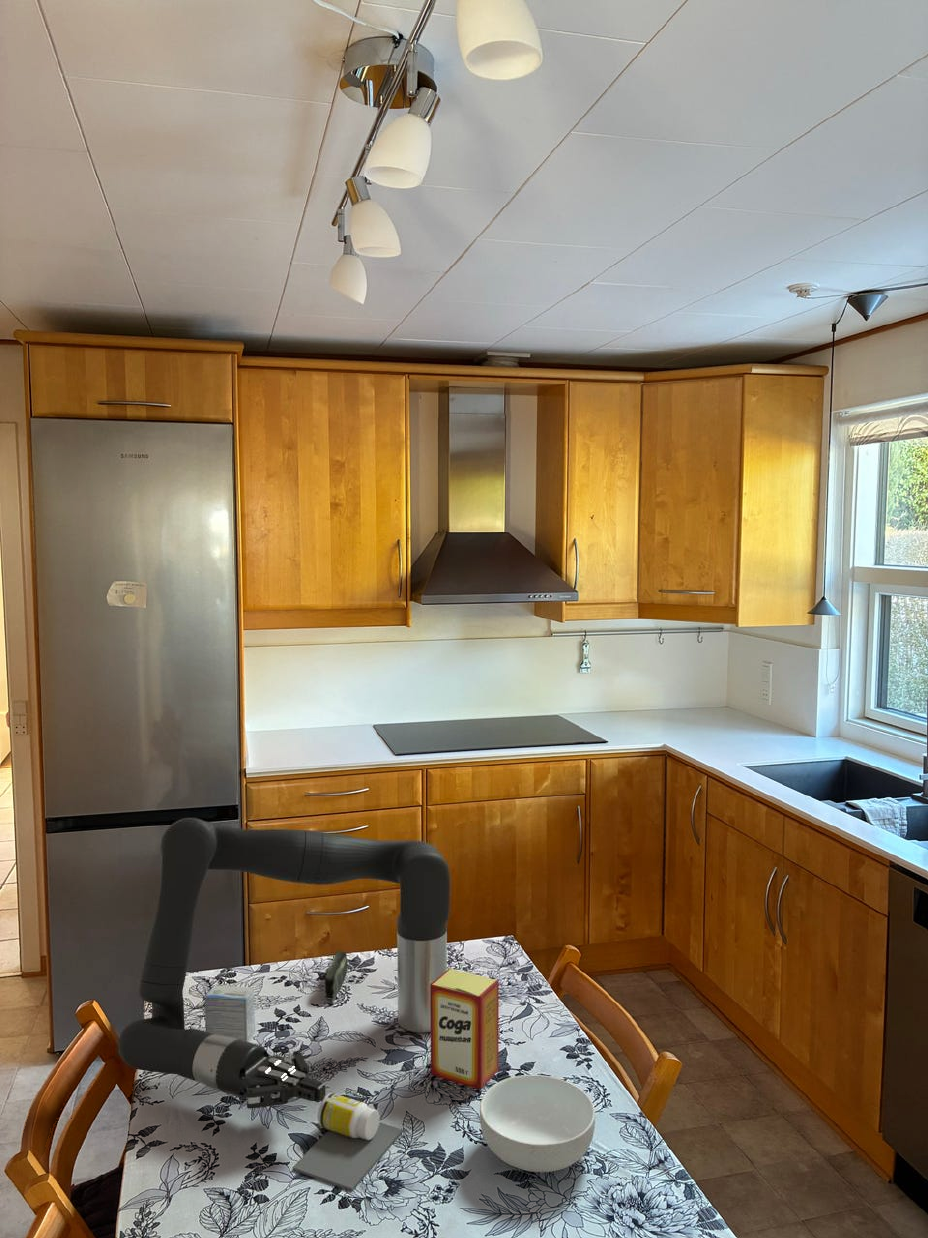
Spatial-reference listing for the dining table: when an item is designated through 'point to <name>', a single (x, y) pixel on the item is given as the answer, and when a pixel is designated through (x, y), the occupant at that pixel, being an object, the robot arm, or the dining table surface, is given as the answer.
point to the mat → (346, 1156)
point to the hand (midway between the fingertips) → (322, 1093)
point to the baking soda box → (464, 1028)
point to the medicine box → (230, 1012)
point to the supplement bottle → (348, 1117)
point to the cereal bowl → (537, 1122)
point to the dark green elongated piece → (335, 976)
